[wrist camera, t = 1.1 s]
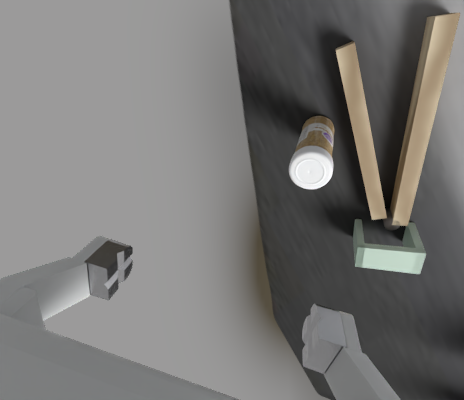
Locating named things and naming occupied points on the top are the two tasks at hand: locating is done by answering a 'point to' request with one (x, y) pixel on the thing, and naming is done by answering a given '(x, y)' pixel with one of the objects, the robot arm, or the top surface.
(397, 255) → the sleeve
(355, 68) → the tong arm
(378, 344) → the top surface
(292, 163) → the sprinkles bottle
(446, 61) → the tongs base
